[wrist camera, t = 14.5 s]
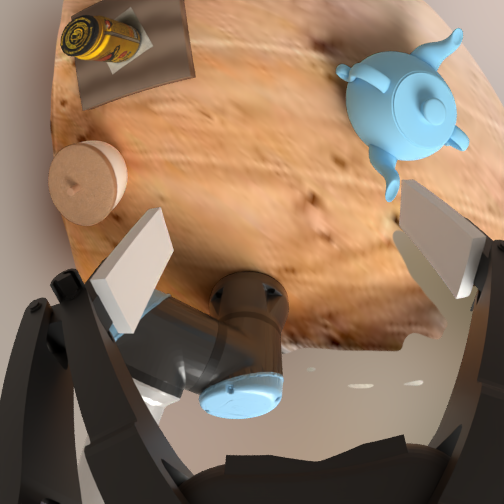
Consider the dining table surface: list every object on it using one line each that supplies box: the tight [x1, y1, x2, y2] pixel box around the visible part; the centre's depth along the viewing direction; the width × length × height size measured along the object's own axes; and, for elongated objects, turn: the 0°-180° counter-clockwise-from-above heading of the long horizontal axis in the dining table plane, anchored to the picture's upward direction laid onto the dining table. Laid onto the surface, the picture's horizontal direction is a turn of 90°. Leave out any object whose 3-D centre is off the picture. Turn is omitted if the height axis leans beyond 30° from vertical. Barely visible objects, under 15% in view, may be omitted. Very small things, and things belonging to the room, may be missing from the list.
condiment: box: [60, 7, 153, 74], centre depth 23 cm, size 7×8×12 cm
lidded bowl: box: [48, 140, 128, 226], centre depth 37 cm, size 13×13×11 cm
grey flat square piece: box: [71, 0, 196, 111], centre depth 30 cm, size 18×18×3 cm
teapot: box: [336, 28, 469, 202], centre depth 29 cm, size 16×20×14 cm
